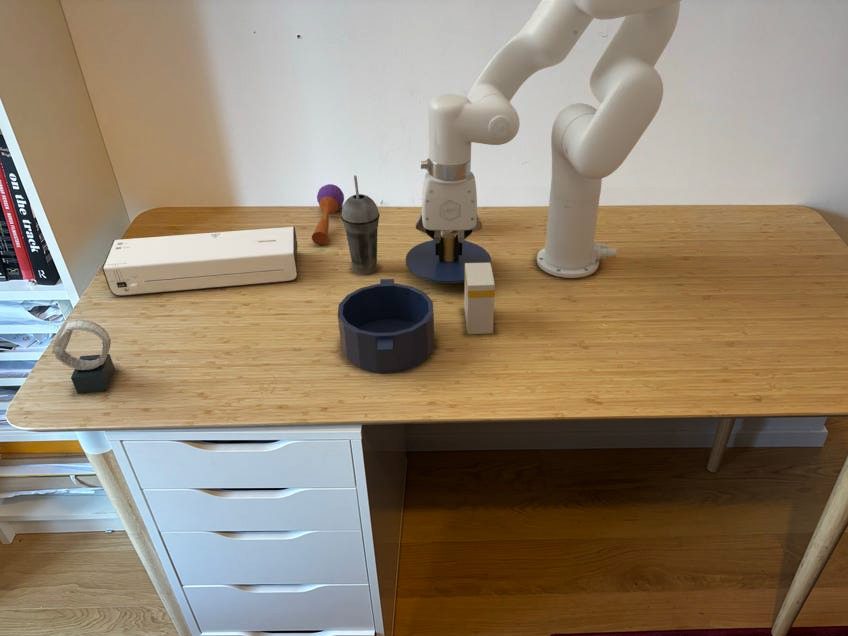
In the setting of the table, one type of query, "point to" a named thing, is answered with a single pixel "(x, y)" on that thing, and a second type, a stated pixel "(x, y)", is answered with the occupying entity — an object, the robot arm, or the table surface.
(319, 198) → the kendama
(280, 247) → the laminator
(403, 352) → the tin
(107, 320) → the table surface
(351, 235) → the beverage cup
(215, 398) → the table surface
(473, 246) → the tin lid
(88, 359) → the watch
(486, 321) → the packet
